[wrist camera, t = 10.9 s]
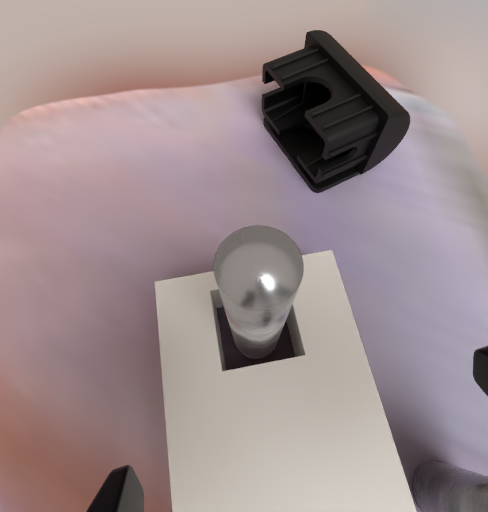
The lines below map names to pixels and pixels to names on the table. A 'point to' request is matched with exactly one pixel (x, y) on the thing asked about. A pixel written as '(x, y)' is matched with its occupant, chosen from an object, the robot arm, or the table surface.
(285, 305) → the long pin
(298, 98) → the end cap
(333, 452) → the hole plate
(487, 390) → the robot arm
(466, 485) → the short pin
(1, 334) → the table surface
